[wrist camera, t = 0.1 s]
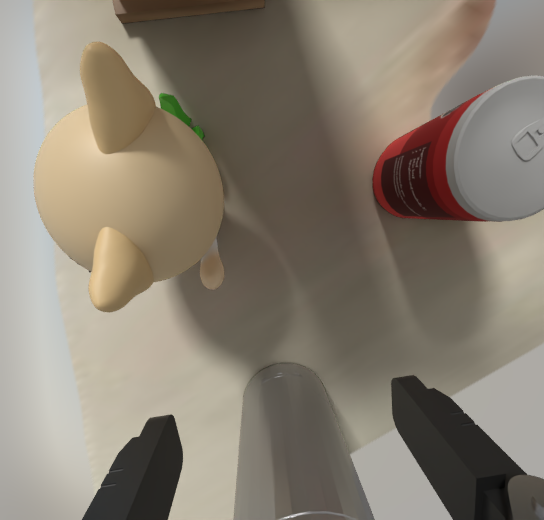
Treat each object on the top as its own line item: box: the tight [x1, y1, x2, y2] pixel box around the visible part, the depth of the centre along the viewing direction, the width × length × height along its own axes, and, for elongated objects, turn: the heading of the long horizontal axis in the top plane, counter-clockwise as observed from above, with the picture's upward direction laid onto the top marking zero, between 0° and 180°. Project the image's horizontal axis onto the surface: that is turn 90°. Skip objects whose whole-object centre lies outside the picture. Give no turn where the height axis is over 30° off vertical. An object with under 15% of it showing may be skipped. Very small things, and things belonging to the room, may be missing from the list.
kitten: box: [33, 42, 224, 312], centre depth 17 cm, size 15×10×15 cm, turn 176°
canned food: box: [372, 75, 544, 222], centre depth 20 cm, size 8×8×11 cm
